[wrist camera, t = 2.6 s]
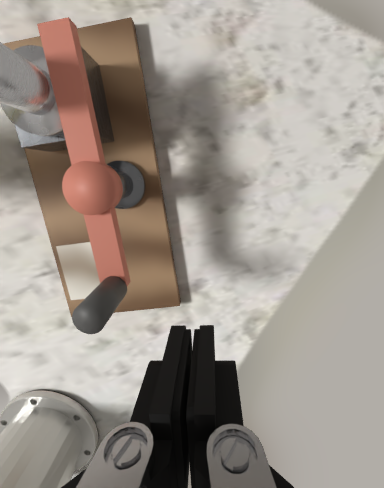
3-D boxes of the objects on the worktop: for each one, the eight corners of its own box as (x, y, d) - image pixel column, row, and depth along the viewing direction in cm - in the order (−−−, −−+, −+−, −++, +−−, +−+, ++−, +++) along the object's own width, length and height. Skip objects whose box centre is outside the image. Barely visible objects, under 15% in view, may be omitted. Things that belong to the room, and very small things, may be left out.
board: (180, 301, 29) (179, 306, 28) (75, 312, 30) (71, 317, 29) (134, 24, 23) (130, 16, 21) (4, 50, 24) (-6, 44, 23)
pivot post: (149, 205, 25) (134, 212, 20) (105, 211, 26) (80, 219, 21) (140, 157, 24) (123, 152, 19) (94, 164, 25) (65, 161, 20)
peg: (110, 138, 24) (45, 113, 14) (52, 148, 24) (-49, 129, 15) (96, 69, 23) (14, -10, 13) (35, 81, 23) (-88, 13, 14)
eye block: (114, 141, 24) (96, 135, 20) (50, 152, 25) (21, 147, 21) (99, 65, 23) (76, 42, 19) (31, 78, 23) (-4, 58, 19)
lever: (143, 290, 21) (121, 331, 16) (101, 295, 22) (64, 336, 16) (90, 26, 17) (33, -47, 11) (38, 37, 17) (-43, -29, 12)
